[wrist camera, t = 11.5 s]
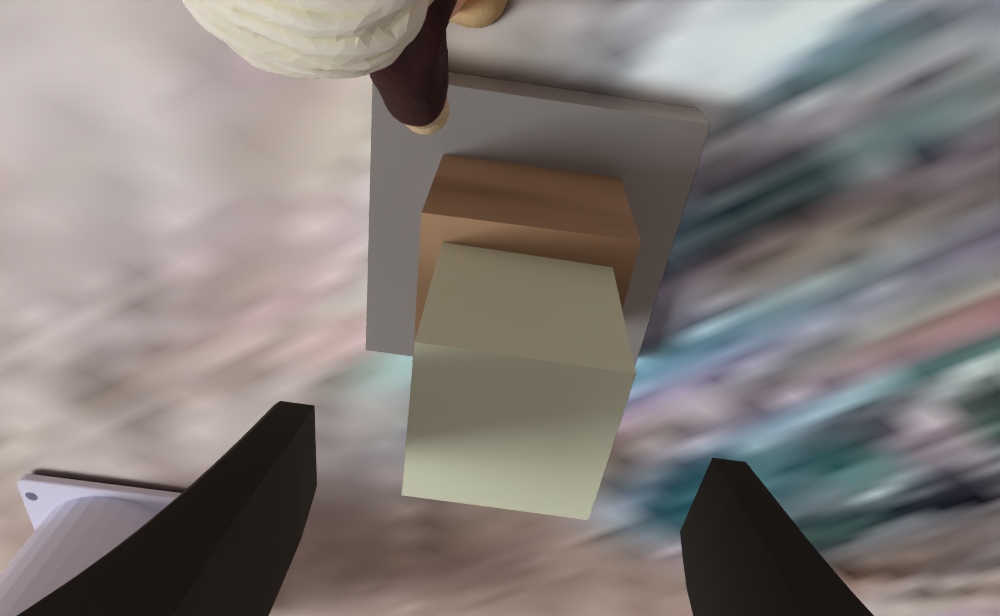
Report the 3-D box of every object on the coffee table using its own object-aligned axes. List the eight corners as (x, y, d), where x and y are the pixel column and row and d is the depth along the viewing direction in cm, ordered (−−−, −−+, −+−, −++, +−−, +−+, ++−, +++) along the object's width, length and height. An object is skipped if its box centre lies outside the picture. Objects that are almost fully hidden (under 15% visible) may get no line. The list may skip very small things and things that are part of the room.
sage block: (577, 397, 17) (588, 520, 14) (428, 376, 17) (401, 494, 13) (612, 267, 15) (636, 373, 11) (442, 242, 15) (414, 342, 11)
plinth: (623, 358, 23) (628, 385, 22) (375, 325, 23) (365, 350, 21) (697, 108, 18) (710, 124, 17) (384, 62, 18) (372, 74, 17)
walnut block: (586, 325, 20) (596, 407, 17) (431, 305, 20) (411, 384, 17) (620, 178, 18) (641, 240, 14) (442, 154, 18) (421, 212, 14)
